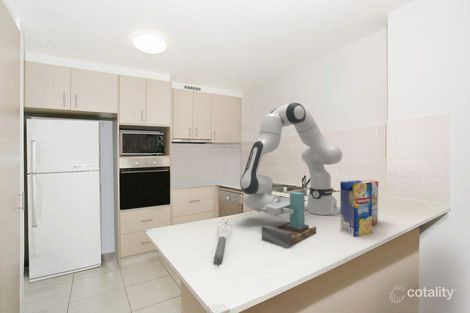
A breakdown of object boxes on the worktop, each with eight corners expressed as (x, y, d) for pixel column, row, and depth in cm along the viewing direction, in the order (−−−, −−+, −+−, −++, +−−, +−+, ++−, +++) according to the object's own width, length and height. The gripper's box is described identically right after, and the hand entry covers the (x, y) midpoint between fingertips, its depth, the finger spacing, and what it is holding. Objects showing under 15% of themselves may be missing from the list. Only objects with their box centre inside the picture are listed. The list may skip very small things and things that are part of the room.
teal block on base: (294, 225, 102) (294, 191, 102) (308, 228, 97) (308, 193, 97) (285, 228, 98) (285, 193, 97) (300, 232, 93) (300, 195, 92)
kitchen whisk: (207, 268, 68) (207, 247, 68) (219, 230, 102) (219, 217, 101) (227, 268, 68) (227, 248, 68) (232, 231, 101) (232, 217, 101)
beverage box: (372, 233, 96) (372, 182, 96) (354, 237, 92) (354, 183, 92) (357, 228, 103) (357, 180, 102) (340, 231, 98) (340, 181, 98)
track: (291, 226, 106) (291, 215, 106) (316, 232, 97) (316, 221, 97) (261, 239, 90) (261, 227, 90) (287, 248, 81) (287, 234, 81)
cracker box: (367, 229, 101) (367, 183, 101) (353, 226, 106) (353, 181, 105) (378, 223, 110) (379, 180, 110) (365, 220, 114) (365, 179, 114)
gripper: (258, 201, 99) (285, 206, 89) (284, 195, 114) (310, 199, 104) (258, 215, 99) (285, 222, 90) (284, 207, 114) (310, 212, 104)
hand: (299, 209), depth 97 cm, fingers open, 7 cm apart
